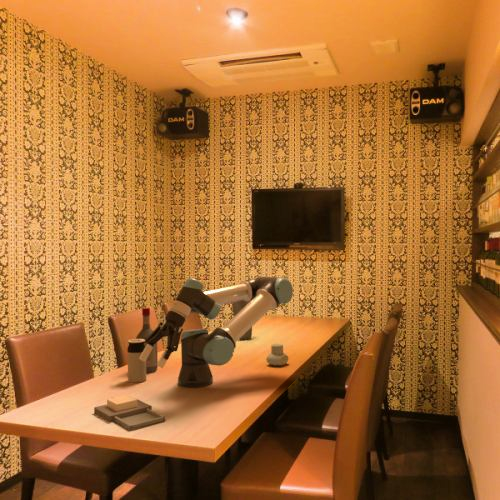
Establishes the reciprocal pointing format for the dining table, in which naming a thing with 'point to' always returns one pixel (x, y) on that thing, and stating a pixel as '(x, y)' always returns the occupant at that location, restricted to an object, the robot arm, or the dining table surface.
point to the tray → (140, 420)
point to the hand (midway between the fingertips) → (150, 363)
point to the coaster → (122, 403)
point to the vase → (237, 308)
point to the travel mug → (136, 361)
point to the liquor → (144, 334)
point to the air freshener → (277, 355)
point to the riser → (110, 413)
